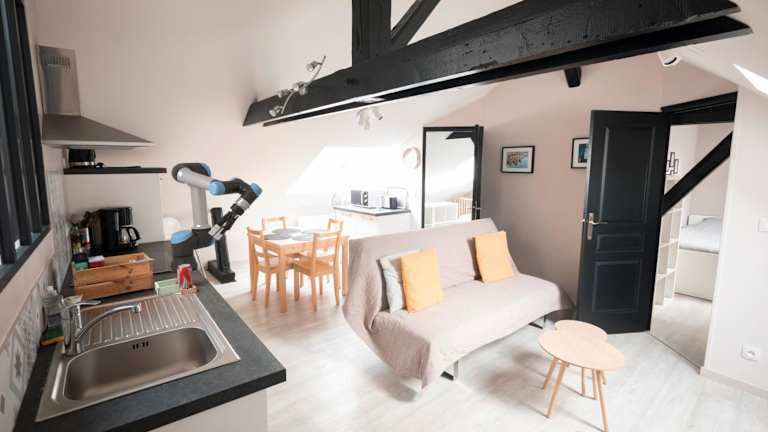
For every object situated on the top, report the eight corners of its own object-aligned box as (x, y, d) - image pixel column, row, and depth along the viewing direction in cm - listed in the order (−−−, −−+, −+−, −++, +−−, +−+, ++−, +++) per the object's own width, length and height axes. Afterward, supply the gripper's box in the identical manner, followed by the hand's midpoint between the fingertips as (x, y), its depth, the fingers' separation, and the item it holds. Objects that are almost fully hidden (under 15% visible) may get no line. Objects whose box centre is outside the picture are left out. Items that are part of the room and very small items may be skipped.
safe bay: (175, 285, 205) (175, 278, 204) (179, 292, 195) (179, 284, 195) (155, 289, 199) (154, 282, 199) (158, 296, 190) (157, 288, 189)
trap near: (195, 289, 199) (194, 285, 198) (196, 292, 195) (196, 287, 195) (180, 292, 195) (179, 288, 194) (181, 295, 191) (181, 290, 191)
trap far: (188, 280, 213) (187, 276, 213) (189, 282, 210) (189, 278, 209) (174, 283, 209) (173, 278, 209) (175, 285, 206) (175, 280, 205)
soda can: (189, 289, 199) (187, 267, 197) (175, 289, 199) (173, 267, 197) (196, 285, 206) (194, 263, 204) (183, 285, 206) (181, 263, 204)
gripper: (251, 213, 206) (224, 245, 199) (238, 208, 226) (213, 236, 219) (241, 204, 202) (212, 236, 196) (228, 200, 222) (202, 228, 215)
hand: (213, 236), depth 207 cm, fingers open, 12 cm apart
